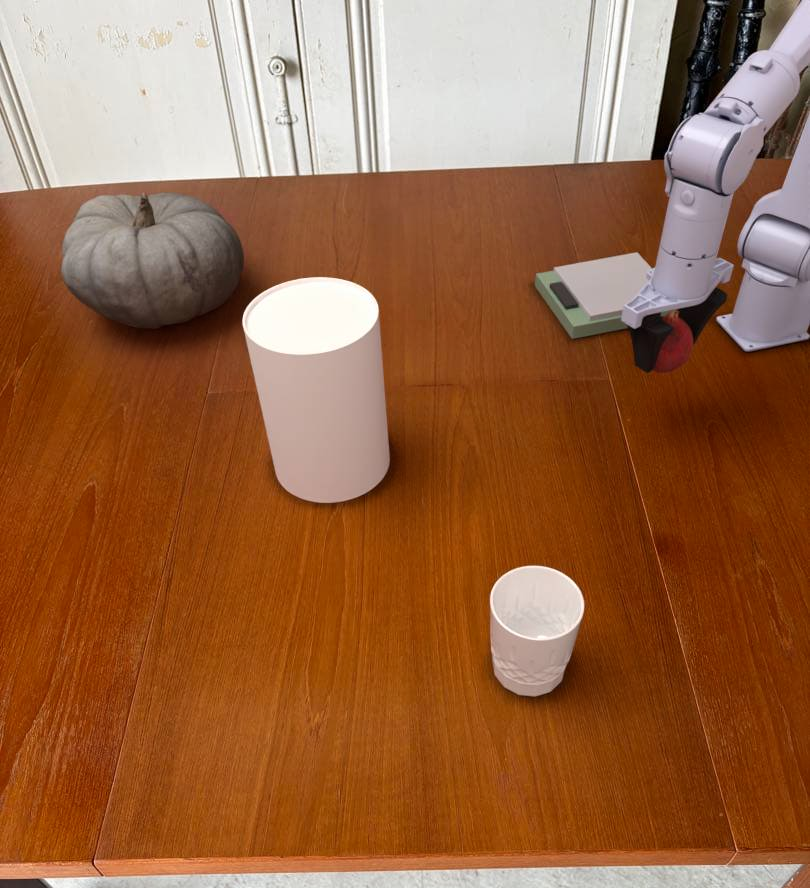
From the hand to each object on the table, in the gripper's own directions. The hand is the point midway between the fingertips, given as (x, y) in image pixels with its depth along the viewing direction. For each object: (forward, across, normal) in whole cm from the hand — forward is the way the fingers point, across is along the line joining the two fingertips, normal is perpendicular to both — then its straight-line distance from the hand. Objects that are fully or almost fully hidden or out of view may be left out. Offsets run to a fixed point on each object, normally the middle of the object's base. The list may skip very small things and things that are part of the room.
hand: (663, 357), depth 92 cm
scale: (+9, -14, -22) cm, 27 cm away
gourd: (+9, +36, -61) cm, 72 cm away
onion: (+2, 0, 0) cm, 2 cm away
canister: (+9, +35, -17) cm, 40 cm away
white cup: (+9, +35, +18) cm, 40 cm away
